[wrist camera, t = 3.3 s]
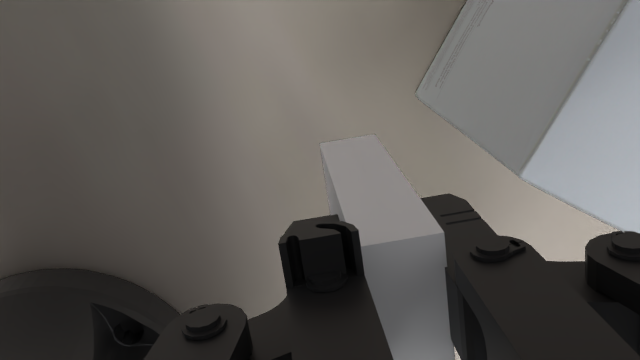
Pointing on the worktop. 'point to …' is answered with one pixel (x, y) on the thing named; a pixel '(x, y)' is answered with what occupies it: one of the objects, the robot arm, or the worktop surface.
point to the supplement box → (549, 96)
